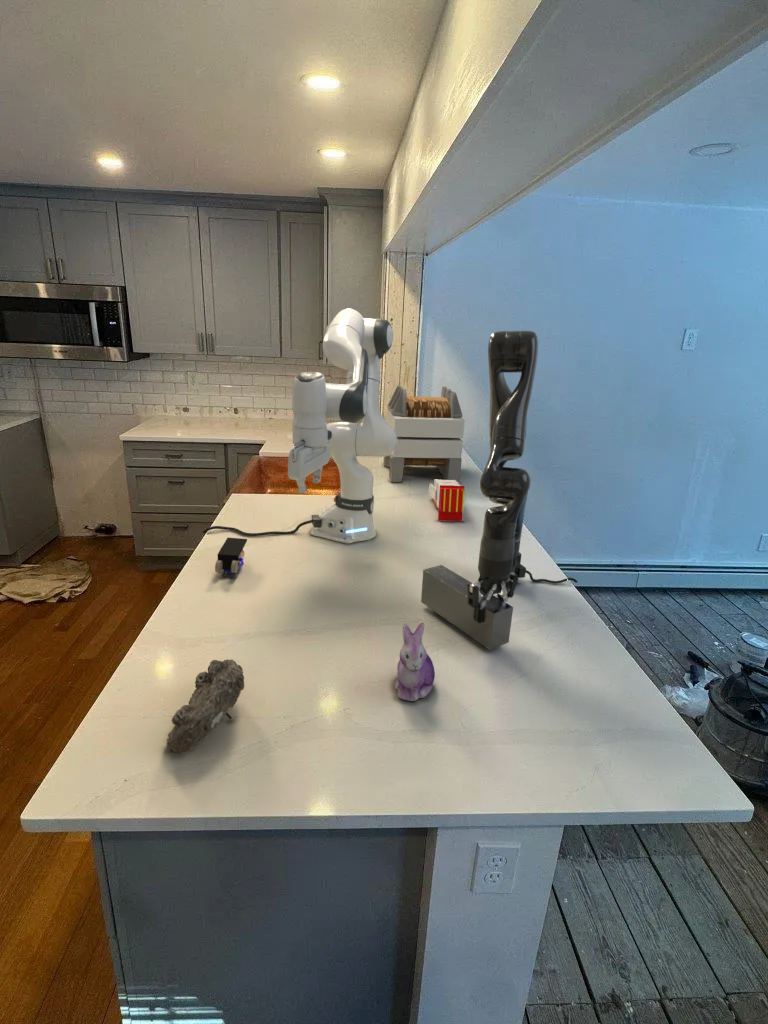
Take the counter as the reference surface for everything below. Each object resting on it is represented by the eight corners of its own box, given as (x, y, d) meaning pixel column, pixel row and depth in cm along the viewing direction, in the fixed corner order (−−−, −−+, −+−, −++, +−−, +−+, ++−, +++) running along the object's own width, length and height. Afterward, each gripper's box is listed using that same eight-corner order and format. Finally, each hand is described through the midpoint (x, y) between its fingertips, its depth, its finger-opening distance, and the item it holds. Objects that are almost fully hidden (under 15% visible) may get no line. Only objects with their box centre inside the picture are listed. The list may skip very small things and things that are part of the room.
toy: (456, 475, 238) (469, 487, 209) (454, 506, 241) (466, 522, 212) (427, 474, 238) (436, 486, 209) (426, 505, 241) (434, 521, 211)
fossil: (192, 660, 117) (244, 628, 112) (224, 691, 120) (276, 661, 115) (142, 746, 98) (202, 712, 93) (182, 779, 101) (242, 748, 96)
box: (420, 601, 151) (423, 569, 147) (438, 596, 154) (441, 564, 151) (489, 650, 130) (494, 613, 127) (508, 642, 134) (513, 607, 131)
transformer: (382, 463, 289) (386, 382, 275) (445, 464, 293) (451, 384, 279) (390, 482, 257) (394, 392, 243) (460, 483, 261) (468, 394, 247)
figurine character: (238, 584, 162) (249, 557, 175) (236, 562, 158) (247, 536, 172) (215, 584, 161) (227, 556, 175) (212, 561, 158) (225, 535, 171)
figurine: (406, 709, 112) (411, 644, 107) (383, 680, 121) (386, 618, 116) (446, 696, 116) (452, 633, 111) (420, 669, 125) (425, 609, 120)
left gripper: (304, 446, 137) (305, 500, 142) (334, 430, 156) (334, 478, 161) (280, 443, 139) (282, 497, 143) (313, 428, 157) (313, 476, 162)
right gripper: (484, 565, 121) (477, 633, 127) (530, 552, 129) (521, 617, 135) (461, 553, 127) (455, 618, 133) (506, 541, 135) (499, 603, 141)
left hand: (309, 487), depth 152 cm, fingers open, 8 cm apart
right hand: (488, 617), depth 134 cm, fingers closed on box, 6 cm apart
